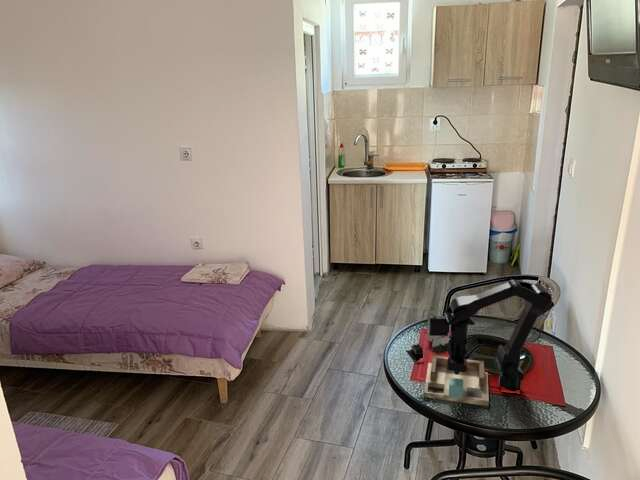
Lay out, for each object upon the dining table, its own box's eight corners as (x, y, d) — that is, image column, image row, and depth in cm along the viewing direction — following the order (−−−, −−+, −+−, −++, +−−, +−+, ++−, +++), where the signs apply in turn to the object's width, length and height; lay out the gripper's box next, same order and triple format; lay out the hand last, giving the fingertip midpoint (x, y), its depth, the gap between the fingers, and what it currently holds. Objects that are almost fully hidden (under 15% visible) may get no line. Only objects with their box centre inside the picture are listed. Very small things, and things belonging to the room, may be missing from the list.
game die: (439, 349, 206) (455, 331, 203) (433, 352, 198) (449, 334, 195) (423, 333, 209) (439, 316, 206) (416, 335, 202) (432, 318, 199)
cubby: (483, 369, 181) (483, 361, 180) (483, 386, 172) (484, 378, 171) (432, 363, 186) (432, 355, 185) (430, 379, 177) (430, 371, 176)
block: (462, 390, 170) (463, 379, 169) (462, 398, 166) (463, 387, 165) (449, 388, 172) (449, 377, 170) (448, 396, 168) (449, 385, 166)
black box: (432, 364, 191) (433, 353, 189) (415, 367, 189) (415, 357, 187) (418, 347, 202) (418, 337, 200) (401, 350, 200) (401, 340, 199)
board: (487, 374, 182) (487, 369, 181) (488, 406, 165) (488, 400, 165) (428, 367, 187) (428, 362, 187) (423, 397, 171) (424, 391, 171)
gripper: (436, 318, 178) (434, 356, 184) (432, 346, 162) (430, 386, 167) (468, 322, 175) (466, 360, 181) (468, 350, 159) (465, 391, 164)
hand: (456, 373), depth 173 cm, fingers closed
